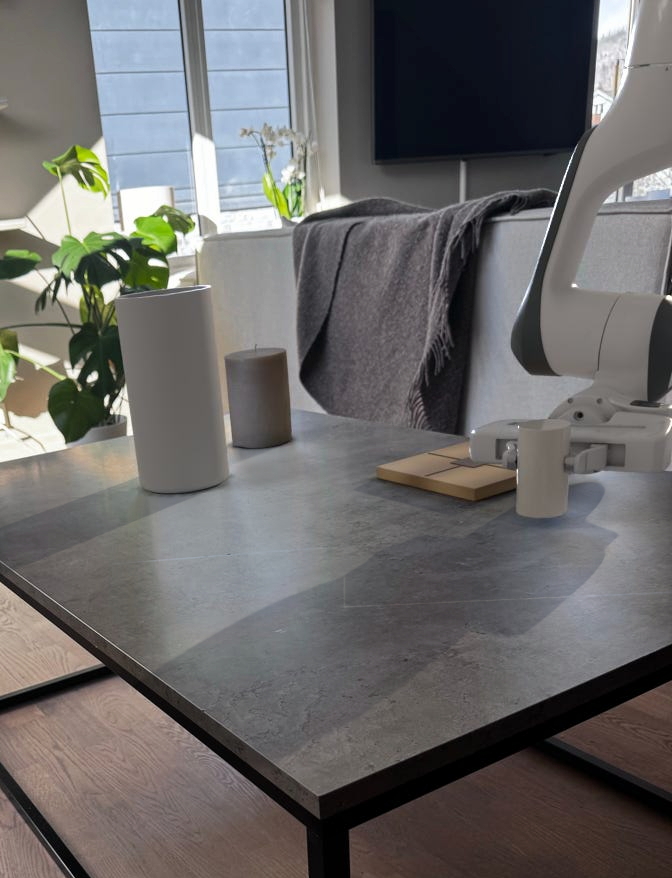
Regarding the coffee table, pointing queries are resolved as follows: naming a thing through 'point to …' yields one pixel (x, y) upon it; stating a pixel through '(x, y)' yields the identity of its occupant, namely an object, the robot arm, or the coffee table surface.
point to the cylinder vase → (173, 388)
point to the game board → (450, 473)
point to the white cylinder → (542, 468)
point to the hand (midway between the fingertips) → (540, 463)
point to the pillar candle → (259, 397)
